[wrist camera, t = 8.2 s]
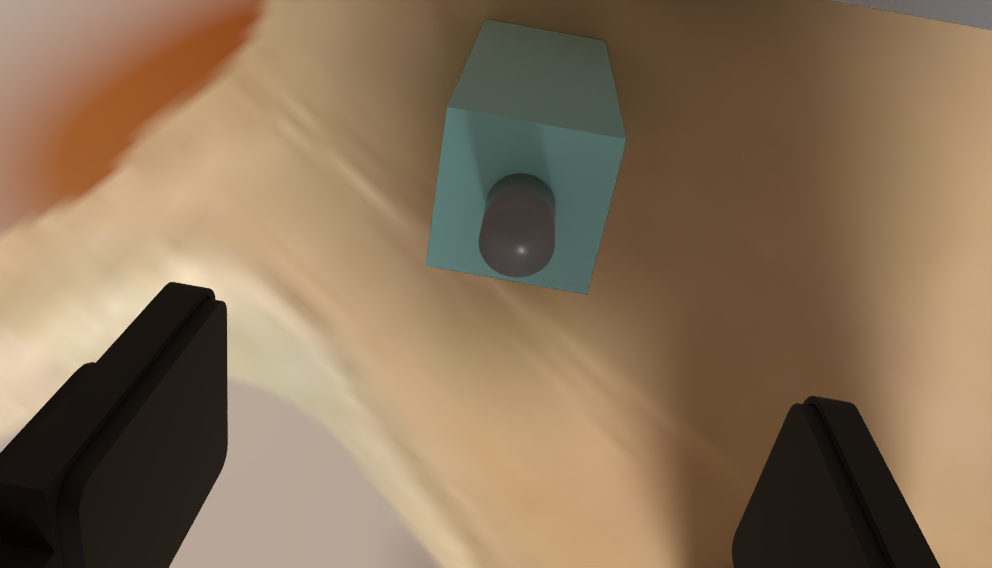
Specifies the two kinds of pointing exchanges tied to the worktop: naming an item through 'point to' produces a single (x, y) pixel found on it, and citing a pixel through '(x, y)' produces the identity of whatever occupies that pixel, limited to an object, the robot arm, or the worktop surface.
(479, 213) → the teal rectangular bottle
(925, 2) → the grey flat box
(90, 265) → the worktop surface
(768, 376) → the worktop surface
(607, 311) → the worktop surface
